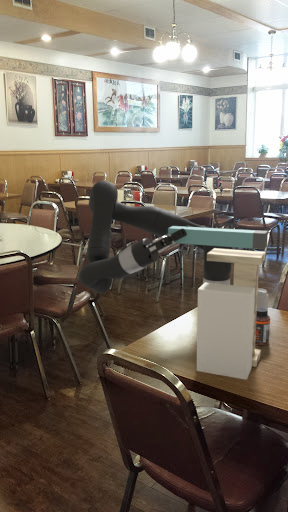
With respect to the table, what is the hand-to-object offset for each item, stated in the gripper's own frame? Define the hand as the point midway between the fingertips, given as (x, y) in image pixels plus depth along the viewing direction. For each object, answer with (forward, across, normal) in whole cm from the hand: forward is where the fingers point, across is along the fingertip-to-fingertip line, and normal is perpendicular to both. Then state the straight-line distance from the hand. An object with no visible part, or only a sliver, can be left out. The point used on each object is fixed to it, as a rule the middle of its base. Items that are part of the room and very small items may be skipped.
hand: (187, 230), depth 127 cm
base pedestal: (-10, 0, +40) cm, 41 cm away
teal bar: (+5, 0, +7) cm, 9 cm away
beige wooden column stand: (-9, +9, +40) cm, 42 cm away
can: (-8, +41, +41) cm, 58 cm away
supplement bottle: (-5, +23, +43) cm, 49 cm away
